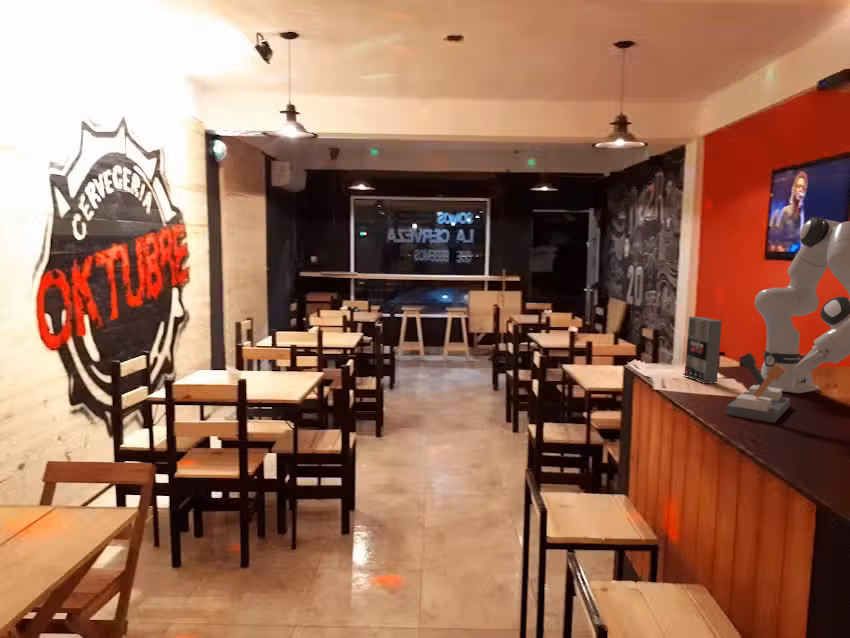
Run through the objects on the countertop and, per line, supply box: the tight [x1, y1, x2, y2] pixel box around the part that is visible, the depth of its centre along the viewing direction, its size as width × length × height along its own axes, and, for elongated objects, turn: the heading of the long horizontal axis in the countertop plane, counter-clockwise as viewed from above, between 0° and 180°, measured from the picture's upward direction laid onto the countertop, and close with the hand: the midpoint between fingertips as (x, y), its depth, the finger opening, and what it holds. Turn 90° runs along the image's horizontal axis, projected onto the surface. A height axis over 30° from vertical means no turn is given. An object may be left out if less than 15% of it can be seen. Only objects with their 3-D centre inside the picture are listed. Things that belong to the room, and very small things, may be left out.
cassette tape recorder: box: [683, 316, 723, 384], centre depth 260 cm, size 14×6×25 cm, turn 12°
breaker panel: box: [725, 384, 791, 424], centre depth 214 cm, size 26×14×6 cm, turn 142°
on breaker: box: [738, 352, 765, 385], centre depth 223 cm, size 3×4×12 cm
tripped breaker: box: [753, 362, 787, 398], centre depth 204 cm, size 3×4×12 cm
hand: (789, 375), depth 200 cm, fingers closed
